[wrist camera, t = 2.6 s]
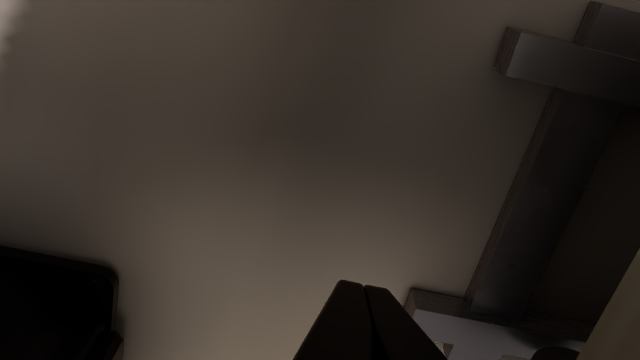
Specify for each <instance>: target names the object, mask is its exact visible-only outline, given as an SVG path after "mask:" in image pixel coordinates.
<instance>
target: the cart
mask: <svg viewBox="0 0 640 360" xmlns="http://www.w3.org/2000/svg"><path fill="white" fill-rule="evenodd" d="M531 360H640V249H639V250H638V252H637V254H636V256H635V257H634V259H633V261H632V263H631V264H630V266H629V268H628V270H627V271H626V273H625V275H624V277H623V278H622V280H621V282H620V284H619V285H618V287H617V289H616V291H615V292H614V294H613V296H612V298H611V299H610V301H609V303H608V305H607V306H606V308H605V310H604V312H603V313H602V315H601V317H600V319H599V320H598V322H597V324H596V326H595V327H594V329H593V331H592V333H591V334H590V336H589V338H588V340H587V341H586V343H585V345H584V347H583V348H582V350H581V352H578V351H575V350H572V349H568V348H564V347H555V346H551V347H544V348H541V349H539V350H537V351H536V352H535V353H534V354H533V356H532V358H531Z"/></svg>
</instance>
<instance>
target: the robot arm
mask: <svg viewBox="0 0 640 360" xmlns="http://www.w3.org/2000/svg"><path fill="white" fill-rule="evenodd" d="M94 280H98V281H100V282H102V283H103V284H104V285H105V286H100V285H98V284H97V283H96V282H95V281H94ZM118 286H119V281H118V277H117V275H116V273H115V272H114V271H112V270H111V269H110V268H107V267H105V266H101V265H96V264H91V263H86V262H80V261H75V260H70V259H65V258H60V257H55V256H50V255H45V254H39V253H34V252H29V251H24V250H19V249H14V248H9V247H4V246H0V360H122V352H123V341H124V339H123V338H122V336H121V334H120V332H118V331H115V323H116V311H117V299H118ZM293 360H448V359H447V358H446V357H445V356H444V354H443V353H442V352H441V351H440V350H439V348H438V347H437V346H436V345H435V344H434V343H433V341H432V340H431V339H430V338H429V337H428V336H427V334H426V333H425V332H424V331H423V330H422V329H421V327H420V326H419V325H418V324H417V323H416V322H415V320H414V319H413V318H412V317H411V316H410V315H409V313H408V312H407V311H406V310H405V309H404V308H403V306H402V305H401V304H400V303H399V302H398V301H397V299H396V298H395V297H394V296H393V295H392V294H391V292H390V291H389V290H388V289H386V288H381V287H376V286H371V285H365V286H364V287H363V285H362V284H360V283H356V282H351V281H346V280H340V281H338V283H337V285H336V286H335V288H334V290H333V291H332V293H331V295H330V297H329V298H328V300H327V302H326V303H325V305H324V307H323V308H322V310H321V312H320V314H319V315H318V317H317V319H316V320H315V322H314V324H313V326H312V327H311V329H310V331H309V332H308V334H307V336H306V338H305V339H304V341H303V343H302V344H301V346H300V348H299V349H298V351H297V353H296V355H295V356H294V358H293Z"/></svg>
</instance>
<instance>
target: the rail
mask: <svg viewBox="0 0 640 360" xmlns="http://www.w3.org/2000/svg"><path fill="white" fill-rule="evenodd" d="M493 67H495V68H496V69H497V70H499V71H500V72H501V73H503V74H504V75H505V76H509V77H514V78H518V79H522V80H526V81H530V82H535V83H539V84H543V85H547V86H551V87H554V88H553V90H552V93H551V95H550V97H549V100H548V102H547V105H546V107H545V109H544V112H543V114H542V116H541V119H540V121H539V123H538V126H537V128H536V130H535V133H534V135H533V137H532V140H531V142H530V145H529V147H528V149H527V152H526V154H525V156H524V159H523V161H522V163H521V166H520V168H519V170H518V173H517V175H516V177H515V180H514V182H513V184H512V187H511V189H510V192H509V194H508V196H507V199H506V201H505V203H504V206H503V208H502V210H501V213H500V215H499V217H498V220H497V222H496V224H495V227H494V229H493V232H492V234H491V236H490V239H489V241H488V243H487V246H486V248H485V250H484V253H483V255H482V257H481V260H480V262H479V264H478V267H477V269H476V271H475V274H474V276H473V279H472V281H471V283H470V286H469V288H468V290H467V293H466V295H465V297H464V299H462V298H458V297H453V296H448V295H443V294H438V293H433V292H428V291H423V290H418V289H413V288H411V290H410V293H409V295H408V298H407V301H406V304H405V306H404V309H405V310H406V311H407V312H408V313H409V315H410V316H411V317H412V318H413V319H414V320H415V322H416V323H417V324H418V325H419V326H420V327H421V329H422V330H423V331H424V332H425V333H426V334H427V336H428V337H429V338H430V339H431V340H433V341H438V342H443V343H445V344H444V347H443V348H444V352H445V356H446V358H447V359H448V360H500V359H501V357H502V355H503V354H505V355H510V356H515V357H520V358H526V359H531V358H532V356H533V354H534V353H535V352H536V351H537V350H539V349H541V348H544V347H551V346H555V347H564V348H568V349H572V350H575V351H578V352H581V350H582V348H583V347H584V345H585V343H586V341H587V340H588V338H589V336H590V334H591V333H592V331H593V329H594V327H595V326H596V325H592V324H587V323H582V322H577V321H572V320H567V319H562V318H557V317H552V316H547V315H542V314H537V313H532V312H527V311H524V310H525V308H526V306H527V304H528V302H529V300H530V298H531V296H532V294H533V292H534V290H535V288H536V286H537V284H538V282H539V280H540V278H541V276H542V274H543V272H544V270H545V268H546V265H547V263H548V261H549V259H550V257H551V255H552V253H553V251H554V249H555V247H556V245H557V243H558V241H559V239H560V237H561V235H562V233H563V231H564V229H565V227H566V225H567V223H568V221H569V219H570V217H571V215H572V213H573V210H574V208H575V206H576V204H577V202H578V200H579V198H580V196H581V194H582V192H583V190H584V188H585V186H586V184H587V182H588V180H589V178H590V176H591V174H592V172H593V170H594V168H595V166H596V164H597V162H598V160H599V158H600V155H601V153H602V151H603V149H604V147H605V145H606V143H607V141H608V139H609V137H610V135H611V133H612V131H613V129H614V127H615V125H616V123H617V121H618V119H619V117H620V115H621V113H622V111H623V109H624V107H625V105H626V104H627V105H631V106H635V107H639V108H640V13H637V12H633V11H629V10H625V9H622V8H618V7H614V6H610V5H606V4H602V3H597V2H593V1H590V3H589V6H588V8H587V10H586V13H585V15H584V18H583V20H582V22H581V25H580V27H579V29H578V32H577V34H576V36H575V39H574V41H573V42H569V41H565V40H561V39H557V38H553V37H549V36H545V35H541V34H537V33H532V32H528V31H524V30H520V29H516V28H512V27H507V30H506V33H505V35H504V38H503V41H502V44H501V46H500V49H499V52H498V54H497V57H496V60H495V62H494V65H493Z"/></svg>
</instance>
